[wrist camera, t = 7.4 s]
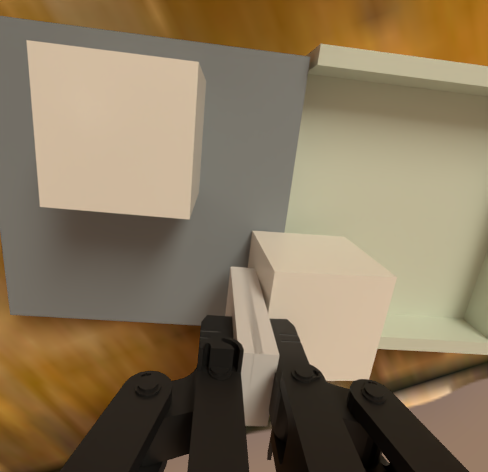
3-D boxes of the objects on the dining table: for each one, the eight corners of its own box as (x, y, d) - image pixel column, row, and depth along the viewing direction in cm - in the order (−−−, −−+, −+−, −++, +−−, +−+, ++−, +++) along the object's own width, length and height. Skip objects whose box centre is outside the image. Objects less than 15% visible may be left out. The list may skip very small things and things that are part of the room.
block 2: (241, 316, 19) (257, 381, 14) (252, 230, 17) (274, 271, 13) (326, 318, 20) (368, 380, 15) (344, 236, 18) (397, 277, 13)
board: (34, 292, 20) (10, 314, 18) (10, 29, 16) (-26, 12, 14) (264, 307, 22) (269, 329, 19) (298, 65, 17) (310, 56, 15)
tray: (267, 312, 22) (274, 343, 19) (303, 57, 17) (320, 43, 14) (464, 325, 23) (501, 355, 20) (547, 89, 19) (611, 83, 15)
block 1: (93, 182, 16) (40, 206, 11) (89, 67, 15) (26, 40, 10) (198, 192, 17) (189, 219, 12) (206, 81, 15) (198, 61, 10)
